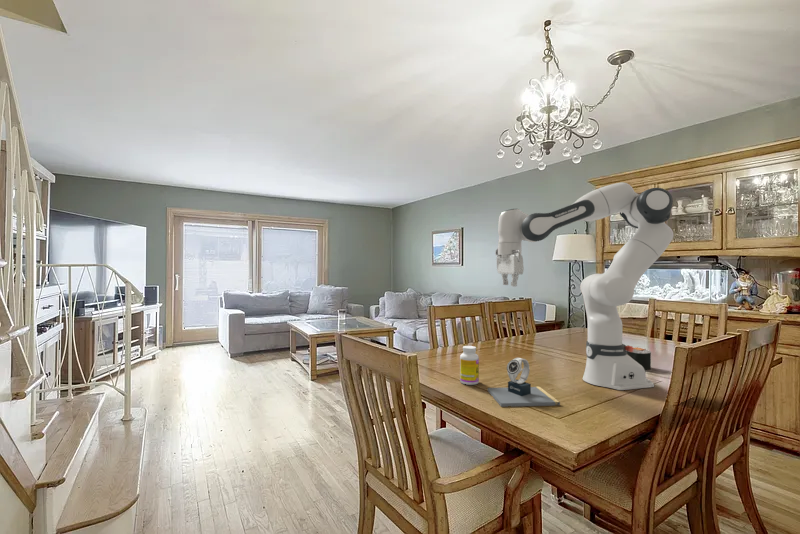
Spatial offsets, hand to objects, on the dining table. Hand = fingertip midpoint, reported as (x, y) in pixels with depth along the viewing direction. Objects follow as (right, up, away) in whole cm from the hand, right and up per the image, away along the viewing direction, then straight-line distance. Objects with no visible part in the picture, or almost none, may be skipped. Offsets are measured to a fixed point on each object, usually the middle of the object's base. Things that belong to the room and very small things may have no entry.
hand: (509, 285), depth 147 cm
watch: (-5, -34, -26) cm, 43 cm away
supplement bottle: (-18, -35, -13) cm, 41 cm away
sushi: (+55, -34, +6) cm, 65 cm away
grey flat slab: (-4, -34, -28) cm, 44 cm away
